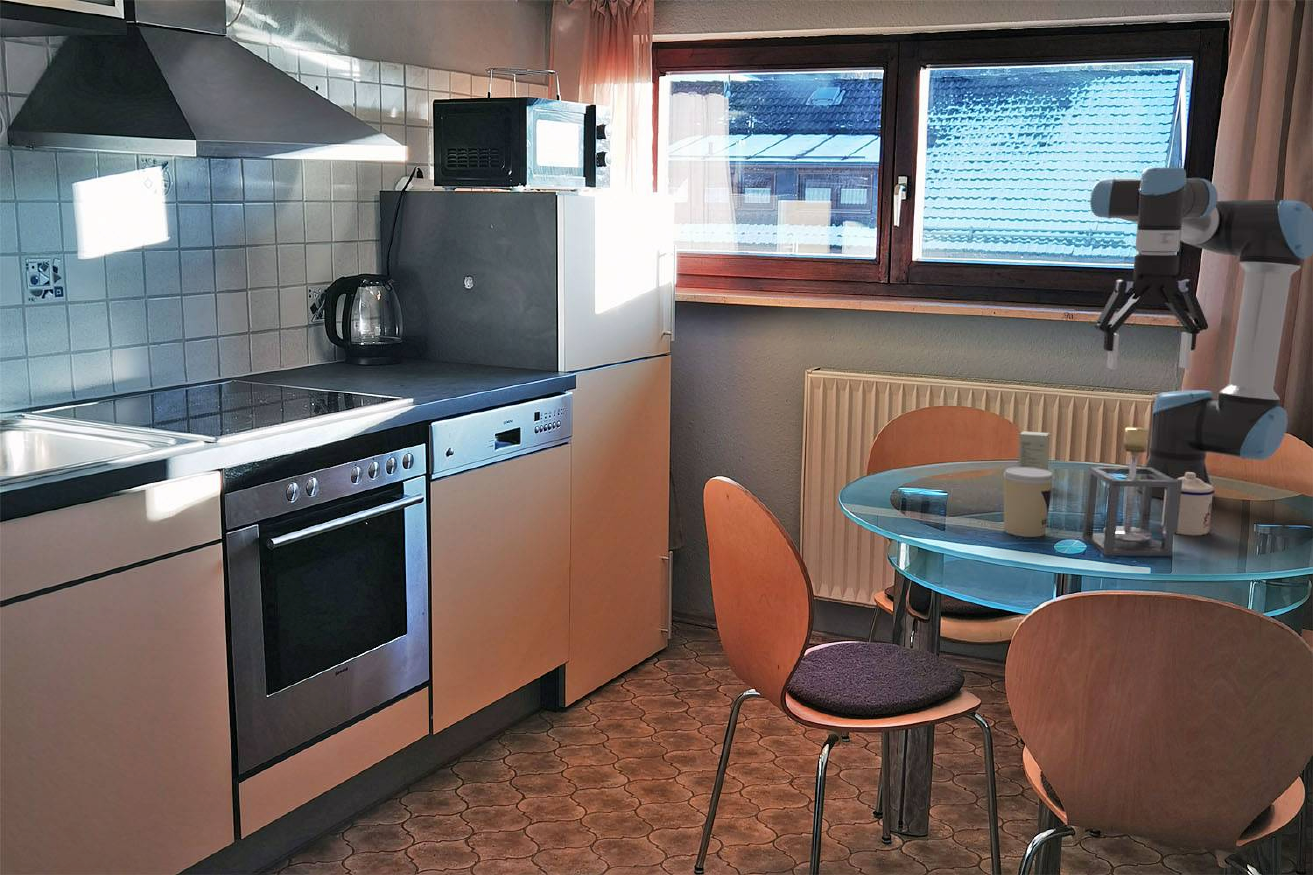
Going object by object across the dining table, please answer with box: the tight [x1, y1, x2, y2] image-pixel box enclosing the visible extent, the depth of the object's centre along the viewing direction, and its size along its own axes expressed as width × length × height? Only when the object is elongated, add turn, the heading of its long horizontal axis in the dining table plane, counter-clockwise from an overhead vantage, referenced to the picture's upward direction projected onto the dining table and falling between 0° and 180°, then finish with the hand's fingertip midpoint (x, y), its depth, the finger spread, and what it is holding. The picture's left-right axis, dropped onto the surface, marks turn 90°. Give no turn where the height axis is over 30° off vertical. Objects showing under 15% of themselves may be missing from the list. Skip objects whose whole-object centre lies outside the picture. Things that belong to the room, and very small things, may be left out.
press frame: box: [1082, 466, 1182, 557], centre depth 223 cm, size 15×12×14 cm
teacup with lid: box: [1161, 472, 1215, 536], centre depth 237 cm, size 12×9×12 cm
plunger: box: [1102, 426, 1152, 542], centre depth 222 cm, size 8×8×20 cm
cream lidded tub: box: [1003, 466, 1055, 538], centre depth 233 cm, size 9×9×12 cm
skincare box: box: [1017, 430, 1051, 471], centre depth 272 cm, size 6×4×12 cm
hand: (1147, 368), depth 224 cm, fingers open, 13 cm apart
